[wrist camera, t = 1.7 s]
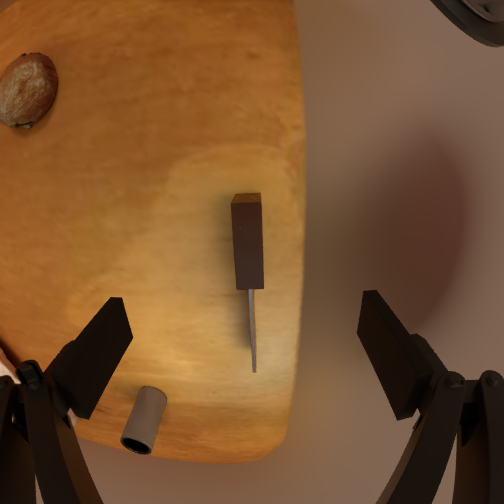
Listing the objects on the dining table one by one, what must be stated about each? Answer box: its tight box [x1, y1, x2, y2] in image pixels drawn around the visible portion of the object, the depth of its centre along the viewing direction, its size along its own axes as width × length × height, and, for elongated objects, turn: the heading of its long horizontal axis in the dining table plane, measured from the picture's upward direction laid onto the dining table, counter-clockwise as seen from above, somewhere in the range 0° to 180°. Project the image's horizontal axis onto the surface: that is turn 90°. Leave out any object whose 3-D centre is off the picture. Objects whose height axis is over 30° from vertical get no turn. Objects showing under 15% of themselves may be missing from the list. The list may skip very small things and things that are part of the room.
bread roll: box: [0, 53, 58, 129], centre depth 21 cm, size 10×10×8 cm
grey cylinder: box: [120, 387, 167, 455], centre depth 34 cm, size 4×4×10 cm
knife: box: [231, 193, 264, 373], centre depth 29 cm, size 19×2×5 cm, turn 2°
